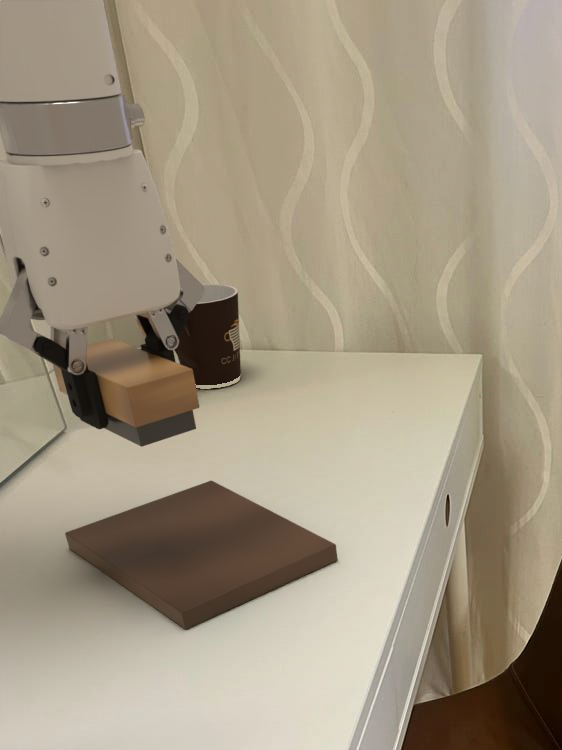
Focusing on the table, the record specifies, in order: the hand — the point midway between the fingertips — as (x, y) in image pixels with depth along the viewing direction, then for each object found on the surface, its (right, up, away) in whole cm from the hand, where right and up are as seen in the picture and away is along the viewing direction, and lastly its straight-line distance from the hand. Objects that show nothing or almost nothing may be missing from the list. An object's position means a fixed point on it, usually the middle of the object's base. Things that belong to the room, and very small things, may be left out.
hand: (130, 410), depth 70 cm
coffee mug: (-7, +13, +44) cm, 46 cm away
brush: (0, -1, 0) cm, 1 cm away
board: (+3, -10, +9) cm, 13 cm away
